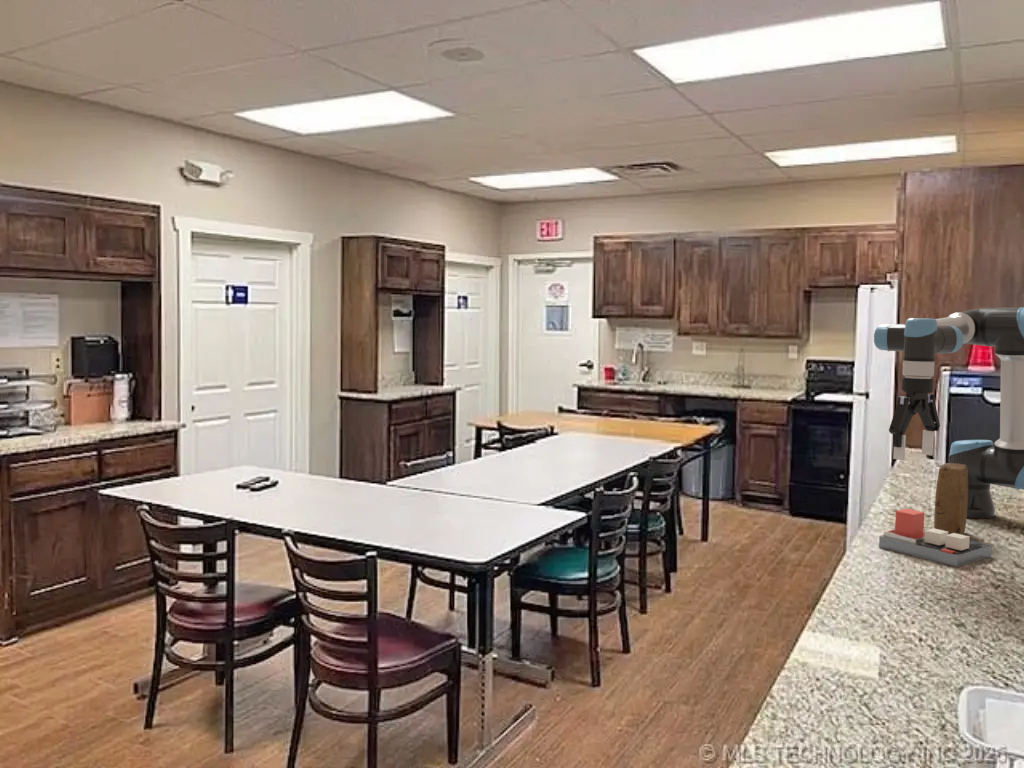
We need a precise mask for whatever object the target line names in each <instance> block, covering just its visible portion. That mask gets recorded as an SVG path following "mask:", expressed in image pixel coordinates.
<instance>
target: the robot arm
mask: <svg viewBox="0 0 1024 768" xmlns="http://www.w3.org/2000/svg"><path fill="white" fill-rule="evenodd" d="M873 343H874V346H875V347H876V348H877V349H878V350H880V351H887V352H903V358H902V360H903V361H902V375H903V376H904V377H902V378H901V389H900V390H901V391H902V392H905V396H901V395H899V396H898V397H897V402H896V403H897V404H896V408H895V410H894V414H893V416H892V419H891V423H890V424H889V425H890V426H889V428H888V432H889V434H891V435H894V436H893V456H892V457H893V458H892V459H893V460H897V461H898V460H899V461H905V460H906V459H905V457H906V456H905V455H906V444H907V443H906V442H907V441H906V439H907V435H906V434H905V433H906V432H907V429H908V427H909V424H910V423H911V420H912V418H913V417H914V415H916V414H918V415H919V418H920V420H921V422H922V424H923V427H924V429H923V430H922V444H921V454H922V455H925V456H933V455H934V441H935V432H939V430H940V426H941V425H940V419H939V414H938V410H937V406H936V395H935V394H932V393H933V392H934V379H933V378H932V377H934V376H935V365H936V364H935V362H936V361H935V360H936V359H935V358H936V355H940V354H944V355H945V354H946V355H949V354H953V353H956V352H958V351H959V350H961V348H962V347H963V345H974V346H975V345H976V346H983V347H994V355H995V356H997V357H998V358H999V360H1000V392H999V393H1000V399H999V401H1000V402H999V403H1000V406H999V413H1000V414H999V416H1000V418H999V420H1000V421H999V438H998V439H997V440H995V442H993V440H989V439H964V440H963V439H962V440H955V441H953V442H952V443H951V445H950V448H949V449H950V450H949V454H948V457H949V459H948V460H949V462H948V463H956V464H964V465H966V466H967V467H968V507H967V518H970V519H990V518H993V517H995V516H996V508H995V507H996V506H995V504H994V501H993V498H992V495H991V494H992V493H991V491H990V490H991V485H995V486H999V487H1006V488H1011V489H1015V490H1024V307H979V308H975V309H969V310H965V311H960V312H953V313H952V314H949V315H948V316H946V317H941V318H927V317H925V318H923V317H922V318H921V317H920V318H918V317H917V318H916V317H914V318H913V317H910V318H907V319H906V321H905V323H898V324H897V323H886V324H885V323H884V324H879V325H878V326H877V327H876V328H875V330H874V333H873Z"/></svg>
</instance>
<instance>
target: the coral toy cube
mask: <svg viewBox="0 0 1024 768" xmlns="http://www.w3.org/2000/svg"><path fill="white" fill-rule="evenodd" d="M894 523H895V524H894V529H895V534H898V535H902V536H906V537H910V538H914V539H916V538H920V537H923V529H924V528H925V527H924V525H925V512H924V511H919V510H915V509H910V508H903V509H899V510H896V511H895V522H894ZM924 530H925V529H924Z"/></svg>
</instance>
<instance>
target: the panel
mask: <svg viewBox="0 0 1024 768" xmlns="http://www.w3.org/2000/svg"><path fill="white" fill-rule="evenodd" d="M925 530H926V529H923V537H920V538H916V539H914V538H910V537H906V536H902V535H898V534H895V528H893V529H887V530H884V531H883V535H880V536H879V540H878V547H879V548H881V549H884V550H889V551H892V552H897V553H900V554H905V555H908V556H911V557H917V558H919V559H924V560H927V561H930V562H934V561H935V563H938V562H939V563H940V564H943V565H945V566H946V565H947V566H951V567H954V568H959V567H962V566H966V565H970V564H972V563H976V562H979V561H981V560H984V559H988V558H990V557H992V553H993V551H992V550H993V545H992V544H990V543H989V544H988V543H984V542H980V541H975V540H971V539H970V541H969V548H968V549H964V550H956V549H952V548H948V547H945V544H942V545H936V544H932V543H928V542H924V538H925ZM939 563H938V564H939Z"/></svg>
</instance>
